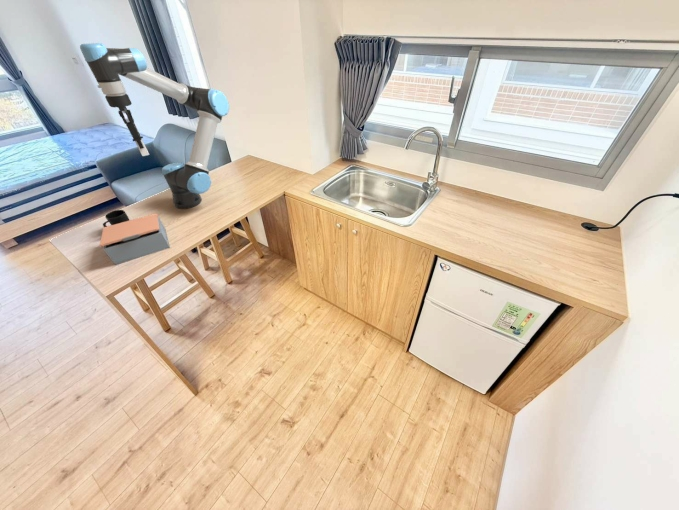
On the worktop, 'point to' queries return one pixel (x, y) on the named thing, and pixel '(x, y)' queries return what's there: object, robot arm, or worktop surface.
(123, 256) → the box
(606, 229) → the worktop surface
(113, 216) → the mug
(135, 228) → the lid
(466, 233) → the worktop surface
